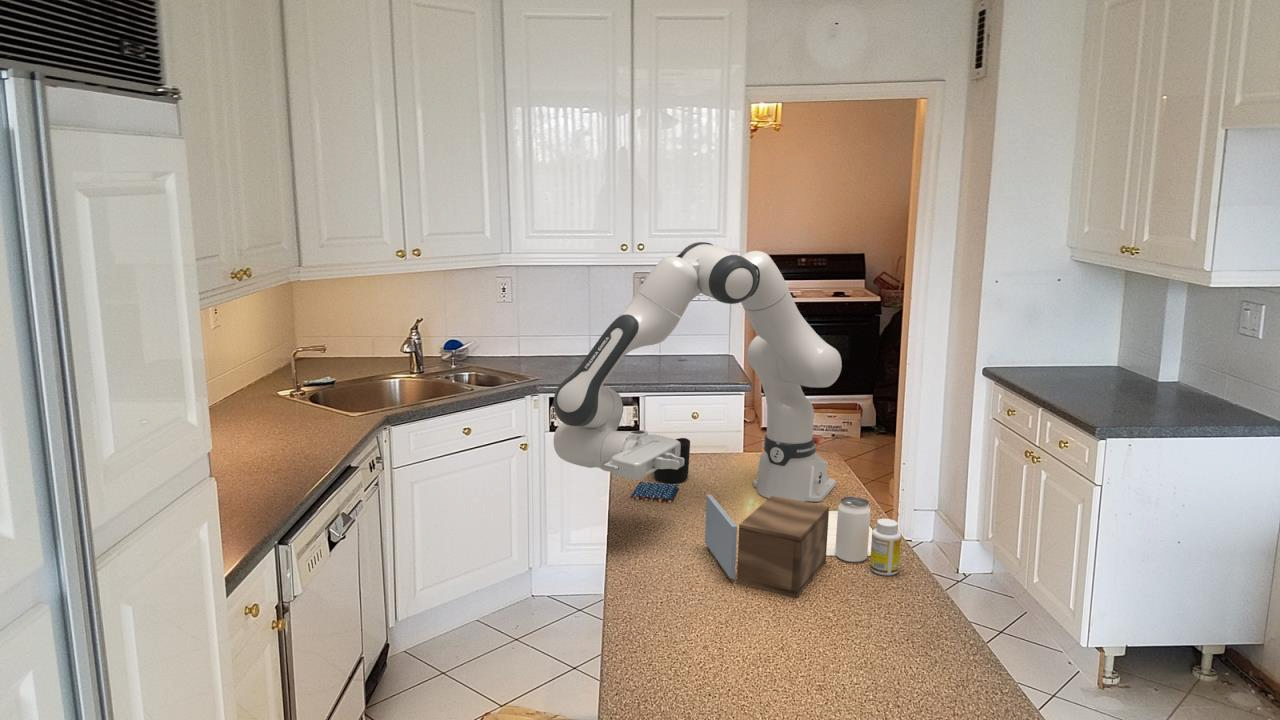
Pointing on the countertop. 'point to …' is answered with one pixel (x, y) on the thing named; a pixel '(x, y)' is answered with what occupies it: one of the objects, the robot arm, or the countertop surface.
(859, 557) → the can
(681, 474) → the pen holder
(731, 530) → the flap
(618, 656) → the countertop surface
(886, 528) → the supplement bottle
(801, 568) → the crate
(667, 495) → the woven mat
